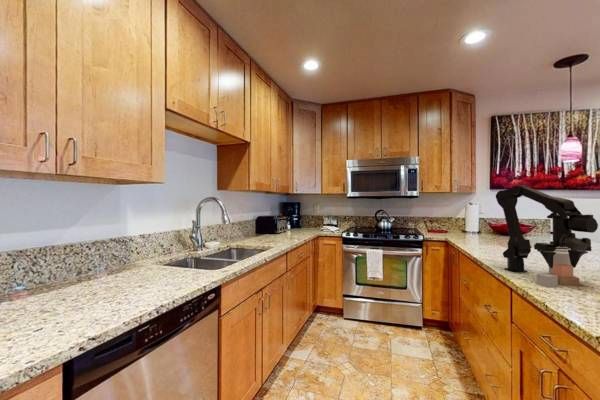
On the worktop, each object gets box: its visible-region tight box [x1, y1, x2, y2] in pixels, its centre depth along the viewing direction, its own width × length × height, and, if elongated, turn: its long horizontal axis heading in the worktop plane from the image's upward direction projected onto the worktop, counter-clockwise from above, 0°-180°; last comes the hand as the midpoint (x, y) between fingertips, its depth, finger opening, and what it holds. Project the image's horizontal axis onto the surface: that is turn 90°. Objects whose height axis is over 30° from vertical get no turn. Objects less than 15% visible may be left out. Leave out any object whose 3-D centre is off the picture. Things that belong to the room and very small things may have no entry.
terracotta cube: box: [552, 263, 574, 277], centre depth 114 cm, size 4×4×4 cm
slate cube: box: [536, 272, 559, 289], centre depth 111 cm, size 4×4×4 cm
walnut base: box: [547, 272, 580, 287], centre depth 114 cm, size 7×7×4 cm
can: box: [548, 249, 571, 273], centre depth 126 cm, size 8×8×12 cm
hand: (562, 267), depth 114 cm, fingers open, 9 cm apart
